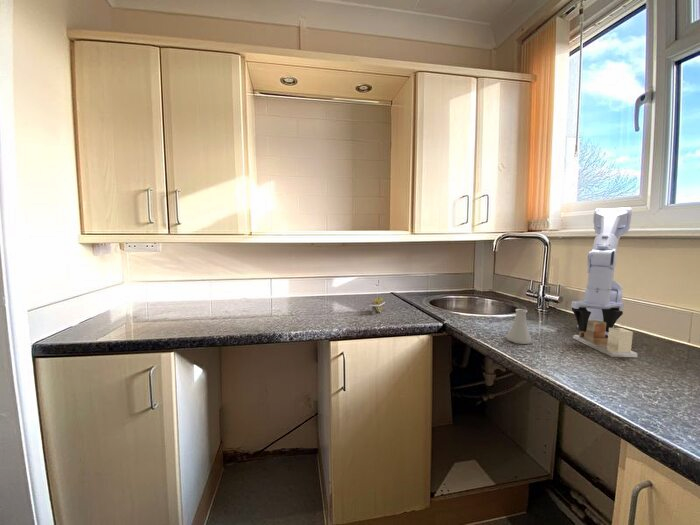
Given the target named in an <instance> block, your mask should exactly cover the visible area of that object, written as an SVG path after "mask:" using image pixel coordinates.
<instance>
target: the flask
mask: <svg viewBox="0 0 700 525" xmlns="http://www.w3.org/2000/svg"><path fill="white" fill-rule="evenodd" d="M515 312H516V313H515V318H514V321H513V322H512V325H511V327H510V329H509V331H508V333H507V335H506V339H507V341H509V342H511V343H514V344H519V345H531V344H533V340H532V337H531V335H530V331H529V327H528V324H527V313H528V310H527V309H522V308H516V309H515Z"/></svg>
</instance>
